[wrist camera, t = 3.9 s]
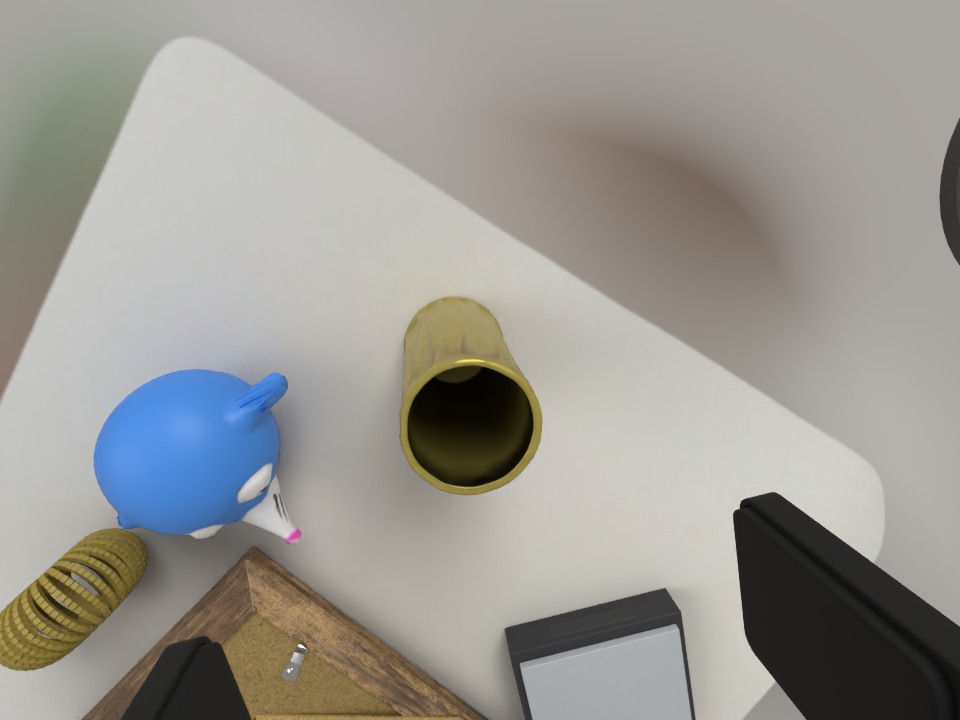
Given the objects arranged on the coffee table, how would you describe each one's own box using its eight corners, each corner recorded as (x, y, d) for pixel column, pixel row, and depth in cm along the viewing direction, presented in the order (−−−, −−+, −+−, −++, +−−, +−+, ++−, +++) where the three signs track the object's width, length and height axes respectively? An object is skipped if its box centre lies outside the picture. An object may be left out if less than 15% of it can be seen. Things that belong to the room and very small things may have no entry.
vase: (422, 405, 33) (417, 527, 19) (390, 313, 32) (359, 376, 18) (514, 376, 33) (574, 477, 20) (486, 283, 32) (530, 322, 18)
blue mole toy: (249, 561, 35) (193, 662, 27) (100, 438, 32) (-14, 509, 24) (382, 444, 34) (367, 512, 26) (240, 306, 31) (173, 334, 23)
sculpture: (97, 610, 35) (1, 719, 27) (46, 571, 34) (-69, 673, 26) (184, 534, 34) (111, 624, 26) (133, 493, 33) (42, 573, 25)
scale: (665, 587, 38) (685, 617, 35) (683, 716, 41) (703, 754, 38) (504, 627, 38) (511, 661, 35) (535, 754, 41) (543, 796, 38)
